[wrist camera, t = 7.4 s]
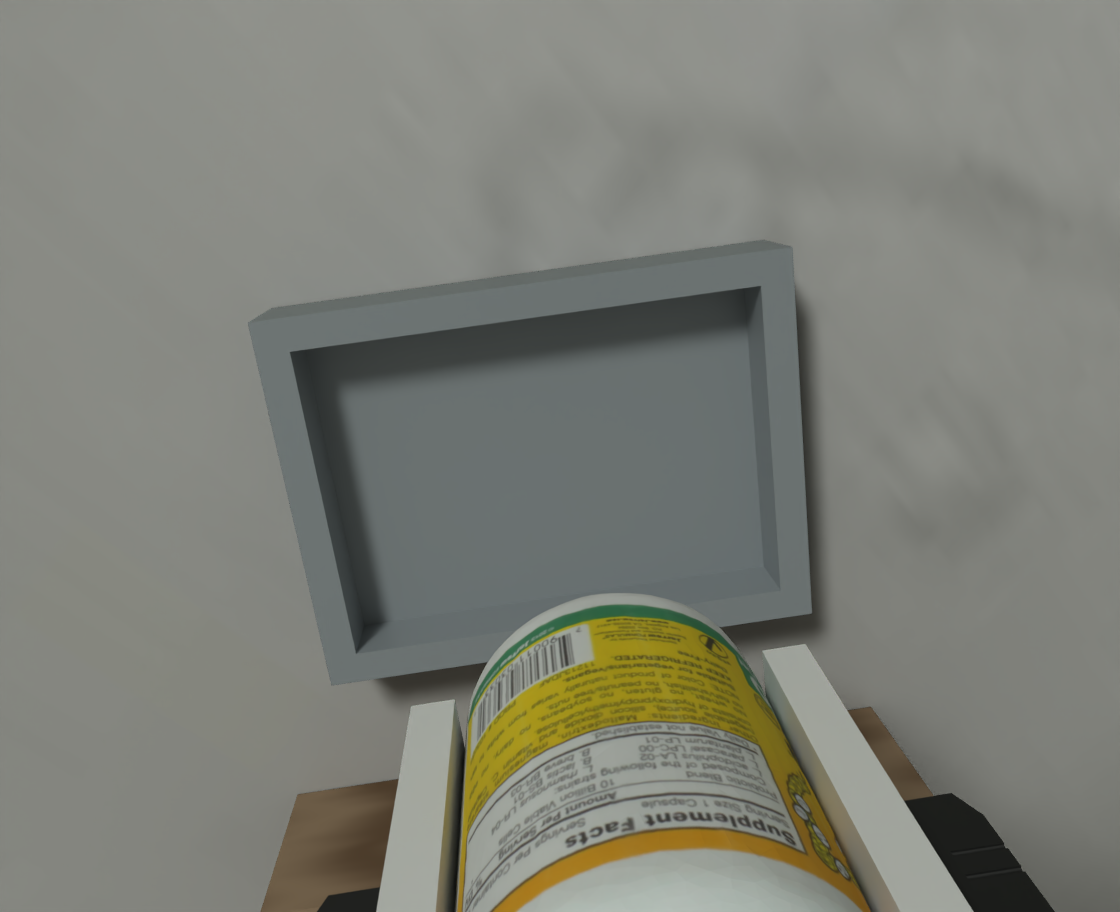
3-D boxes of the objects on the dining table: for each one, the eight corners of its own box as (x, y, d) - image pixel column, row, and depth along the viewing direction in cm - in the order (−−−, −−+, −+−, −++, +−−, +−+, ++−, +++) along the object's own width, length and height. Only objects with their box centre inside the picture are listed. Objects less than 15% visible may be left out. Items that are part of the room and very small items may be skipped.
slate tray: (764, 239, 30) (792, 246, 27) (784, 575, 34) (812, 613, 31) (271, 308, 30) (247, 322, 27) (345, 641, 33) (331, 685, 30)
